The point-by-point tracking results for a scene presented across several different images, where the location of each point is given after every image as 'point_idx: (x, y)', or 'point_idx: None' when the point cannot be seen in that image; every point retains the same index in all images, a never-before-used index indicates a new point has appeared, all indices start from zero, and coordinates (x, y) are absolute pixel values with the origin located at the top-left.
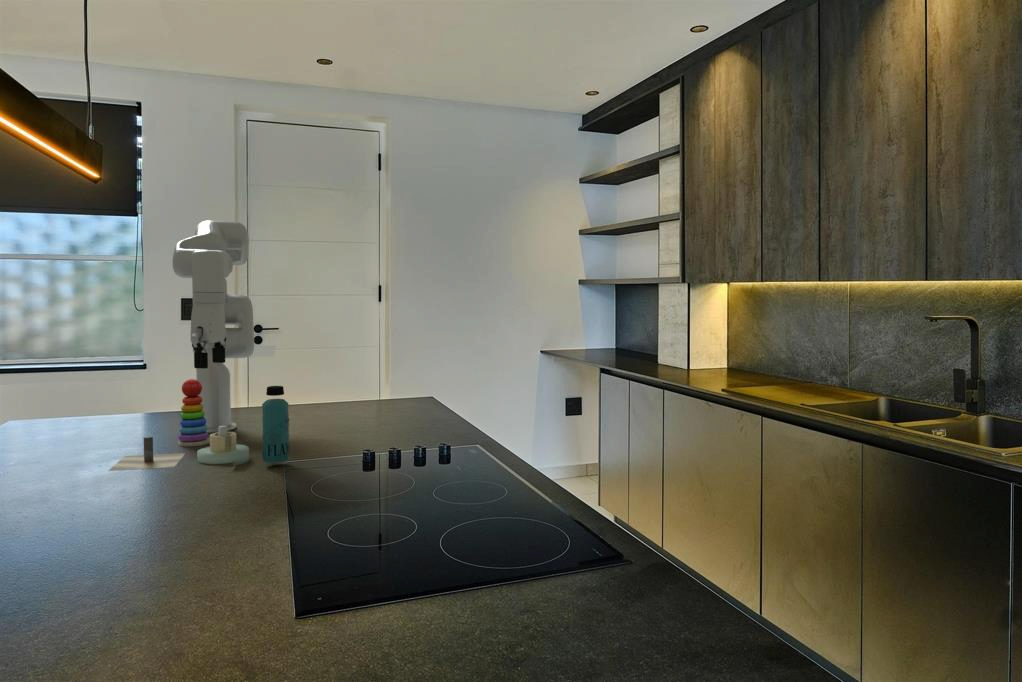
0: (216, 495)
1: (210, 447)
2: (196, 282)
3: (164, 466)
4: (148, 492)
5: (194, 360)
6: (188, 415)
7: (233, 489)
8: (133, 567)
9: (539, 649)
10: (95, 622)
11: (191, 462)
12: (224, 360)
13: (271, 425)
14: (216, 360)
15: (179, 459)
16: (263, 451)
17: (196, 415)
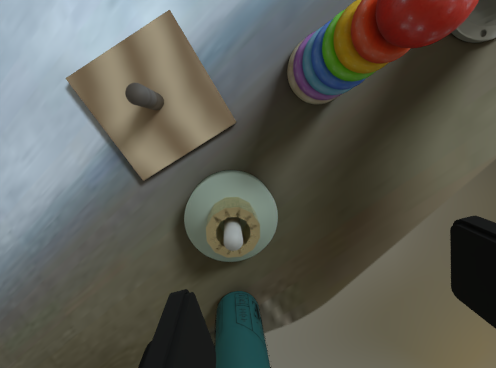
0: (73, 325)
1: (212, 209)
2: None
3: (138, 161)
4: (33, 232)
5: (153, 343)
6: (325, 55)
7: (107, 326)
8: None
9: None
10: None
11: (206, 163)
12: (472, 306)
13: None
14: (465, 257)
15: (190, 149)
16: (219, 312)
17: (337, 75)
